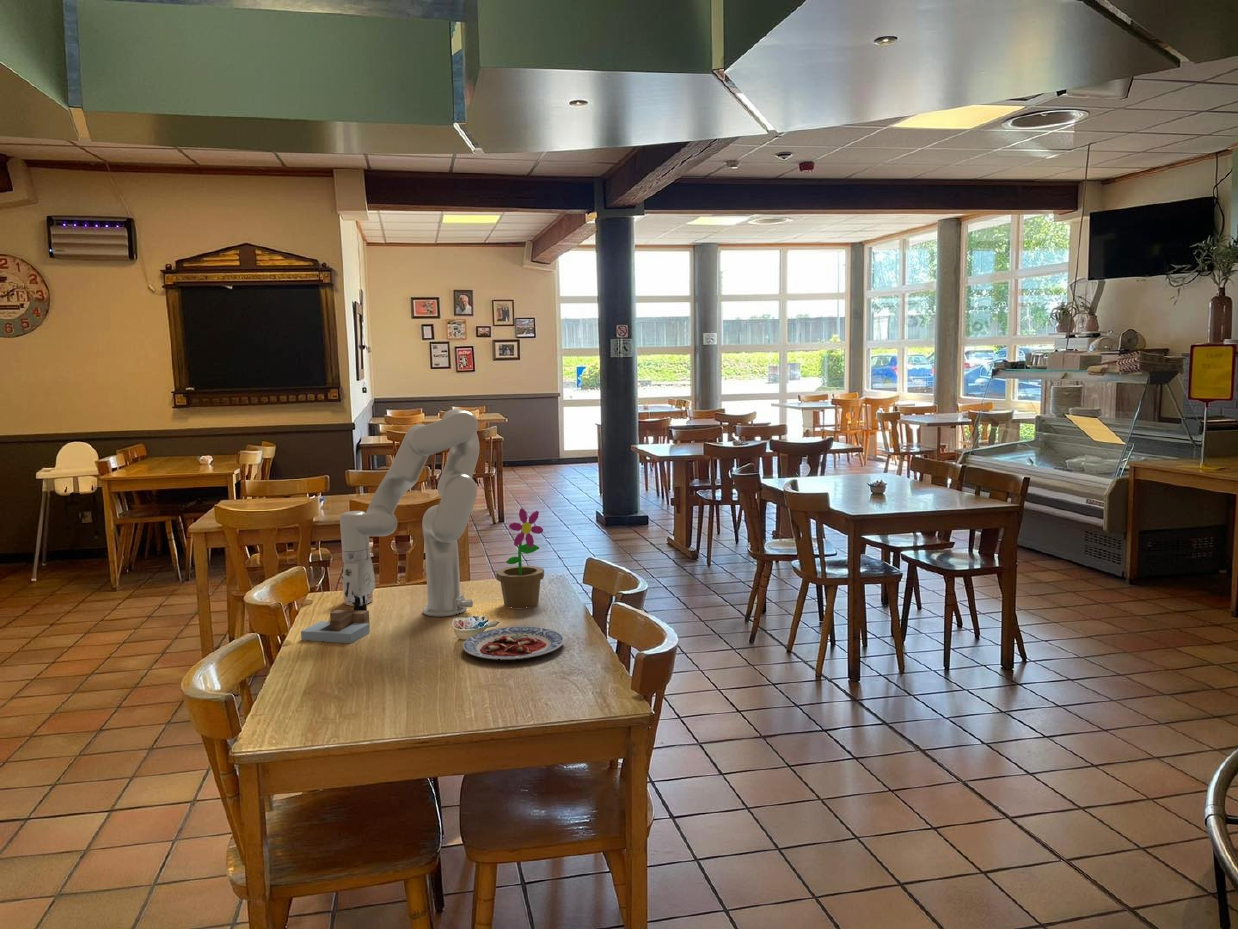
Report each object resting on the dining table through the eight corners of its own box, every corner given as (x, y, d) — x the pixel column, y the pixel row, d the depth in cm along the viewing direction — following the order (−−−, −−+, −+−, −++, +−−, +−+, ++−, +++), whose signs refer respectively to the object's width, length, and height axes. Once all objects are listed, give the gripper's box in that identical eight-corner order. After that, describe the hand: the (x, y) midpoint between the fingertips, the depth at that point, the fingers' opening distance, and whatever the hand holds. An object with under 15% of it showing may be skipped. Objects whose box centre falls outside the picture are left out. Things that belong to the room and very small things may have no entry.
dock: (369, 632, 248) (369, 623, 247) (351, 643, 238) (350, 634, 238) (321, 629, 251) (320, 621, 251) (301, 640, 242) (300, 631, 242)
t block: (369, 628, 252) (368, 610, 251) (353, 639, 242) (352, 621, 242) (336, 627, 254) (335, 609, 253) (318, 638, 244) (317, 620, 243)
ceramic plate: (540, 671, 214) (539, 659, 214) (444, 662, 223) (443, 650, 222) (579, 638, 239) (579, 627, 238) (491, 631, 247) (491, 620, 247)
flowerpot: (516, 613, 262) (512, 512, 259) (488, 604, 273) (484, 506, 269) (554, 603, 272) (551, 505, 268) (526, 595, 282) (522, 500, 279)
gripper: (354, 561, 247) (359, 626, 249) (381, 549, 261) (385, 611, 263) (330, 560, 248) (335, 625, 251) (357, 549, 263) (362, 610, 265)
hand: (360, 618), depth 257 cm, fingers closed
